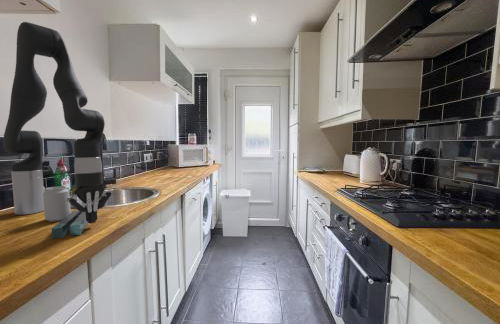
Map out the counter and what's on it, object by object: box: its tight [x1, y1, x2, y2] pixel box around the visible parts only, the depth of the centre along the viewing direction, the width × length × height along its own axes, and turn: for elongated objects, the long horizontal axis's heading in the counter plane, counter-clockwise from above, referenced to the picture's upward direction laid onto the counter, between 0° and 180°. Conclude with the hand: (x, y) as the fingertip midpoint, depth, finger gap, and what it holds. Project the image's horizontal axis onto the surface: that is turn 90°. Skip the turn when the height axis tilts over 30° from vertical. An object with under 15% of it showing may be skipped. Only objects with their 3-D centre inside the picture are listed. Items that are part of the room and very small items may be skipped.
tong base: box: [51, 205, 84, 240], centre depth 82 cm, size 24×4×4 cm, turn 22°
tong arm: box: [69, 212, 89, 237], centre depth 81 cm, size 20×2×3 cm, turn 24°
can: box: [43, 185, 72, 223], centre depth 88 cm, size 8×8×12 cm
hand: (91, 222), depth 80 cm, fingers closed
